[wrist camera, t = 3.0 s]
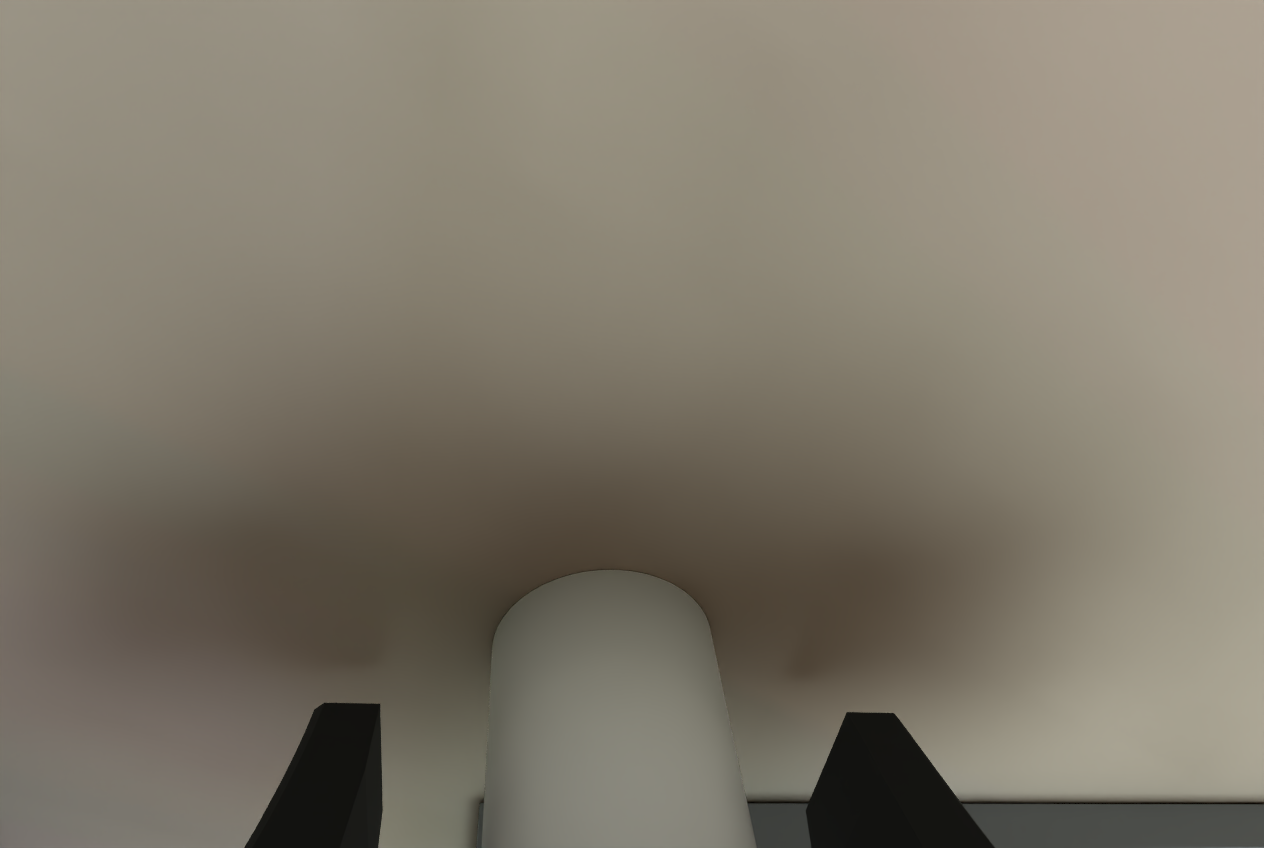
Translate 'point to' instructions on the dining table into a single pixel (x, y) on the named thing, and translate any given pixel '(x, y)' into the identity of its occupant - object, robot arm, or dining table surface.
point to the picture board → (1057, 825)
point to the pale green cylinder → (610, 722)
